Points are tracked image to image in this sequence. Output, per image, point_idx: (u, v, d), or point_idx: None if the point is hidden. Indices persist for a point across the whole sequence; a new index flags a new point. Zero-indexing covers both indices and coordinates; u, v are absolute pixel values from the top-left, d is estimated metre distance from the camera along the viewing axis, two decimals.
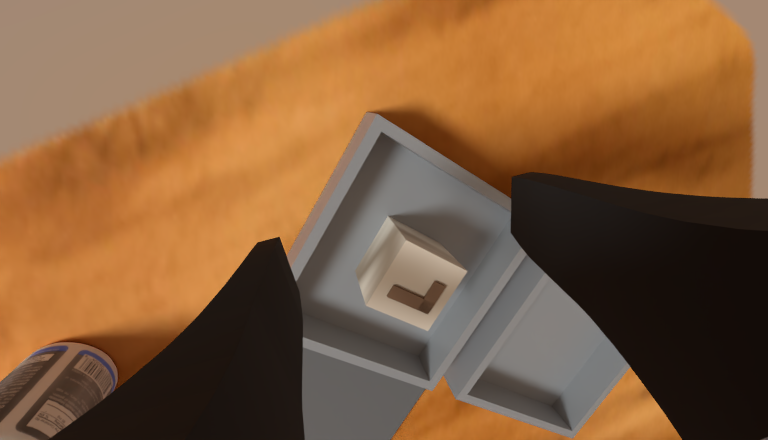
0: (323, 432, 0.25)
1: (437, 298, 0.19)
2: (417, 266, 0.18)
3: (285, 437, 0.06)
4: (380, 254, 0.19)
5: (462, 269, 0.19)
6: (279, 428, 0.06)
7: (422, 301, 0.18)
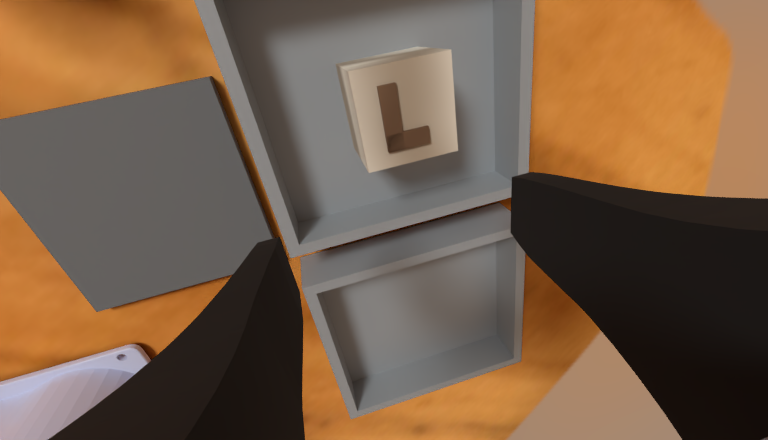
0: (109, 211, 0.17)
1: (411, 146, 0.15)
2: (431, 91, 0.14)
3: (285, 437, 0.06)
4: (394, 56, 0.15)
5: (456, 143, 0.15)
6: (279, 428, 0.06)
7: (399, 133, 0.14)
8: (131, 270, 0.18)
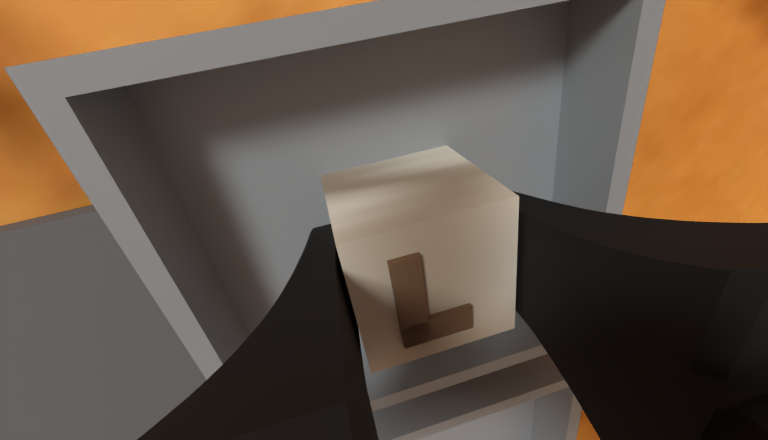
0: None
1: (442, 334, 0.09)
2: (480, 257, 0.08)
3: (368, 410, 0.06)
4: (415, 183, 0.09)
5: (513, 319, 0.09)
6: (365, 400, 0.06)
7: (423, 322, 0.08)
8: None
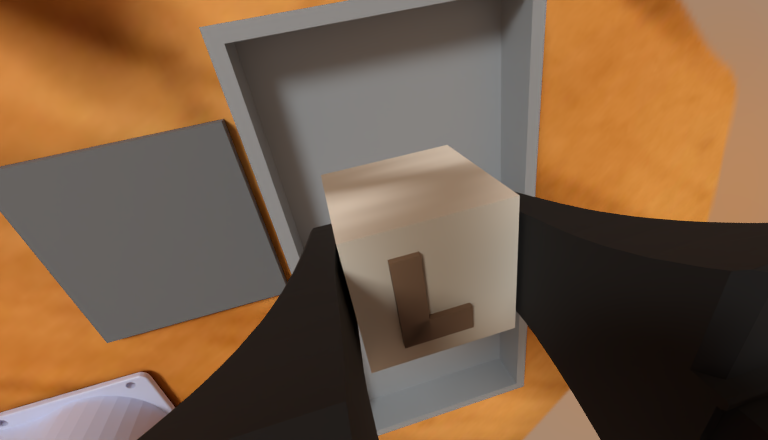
0: (122, 248, 0.17)
1: (443, 334, 0.09)
2: (480, 256, 0.08)
3: (368, 410, 0.06)
4: (416, 183, 0.09)
5: (513, 319, 0.09)
6: (365, 400, 0.06)
7: (423, 321, 0.08)
8: (141, 303, 0.19)
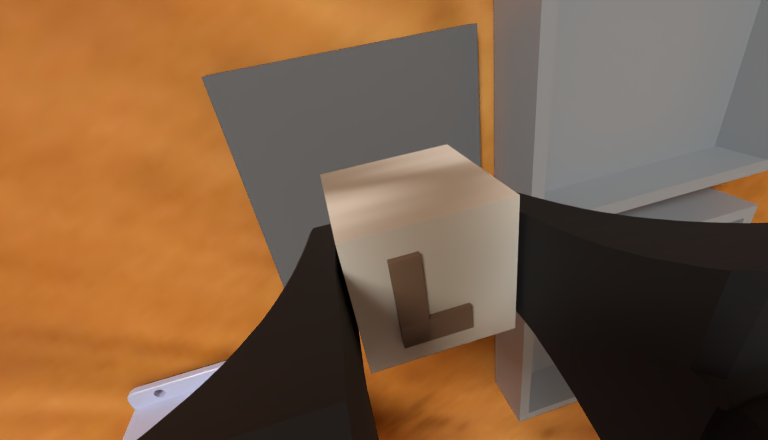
0: None
1: (443, 334, 0.09)
2: (480, 256, 0.08)
3: (368, 410, 0.06)
4: (415, 182, 0.09)
5: (513, 319, 0.09)
6: (365, 400, 0.06)
7: (423, 321, 0.08)
8: None
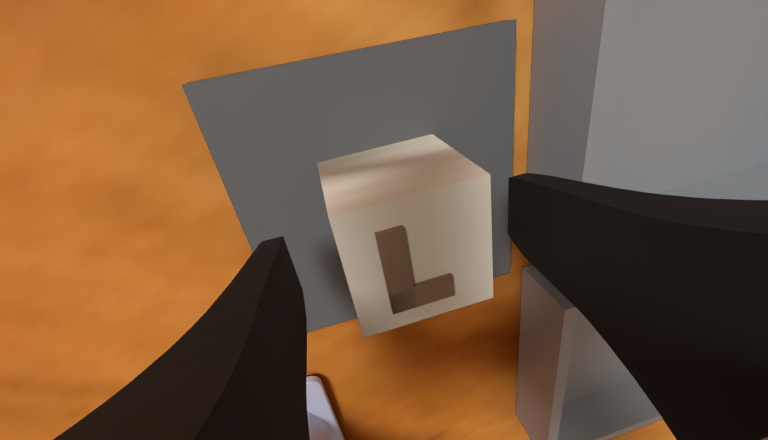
0: None
1: (427, 301, 0.10)
2: (458, 230, 0.09)
3: (291, 435, 0.06)
4: (401, 167, 0.10)
5: (491, 289, 0.10)
6: (285, 426, 0.06)
7: (408, 289, 0.09)
8: (343, 284, 0.14)
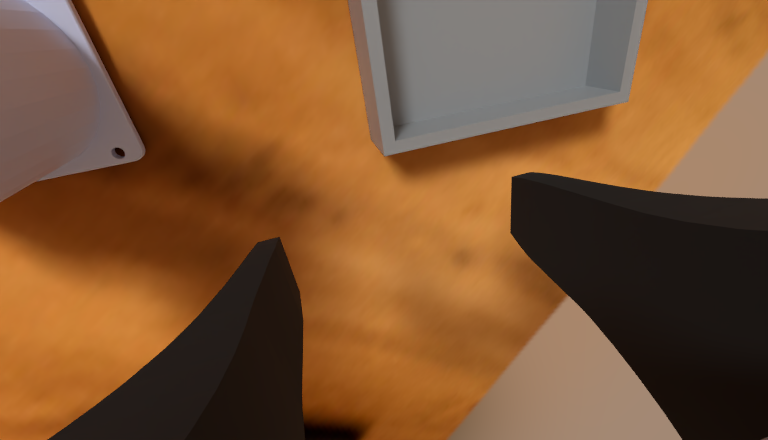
0: None
1: None
2: None
3: (285, 437, 0.06)
4: None
5: None
6: (279, 428, 0.06)
7: None
8: None
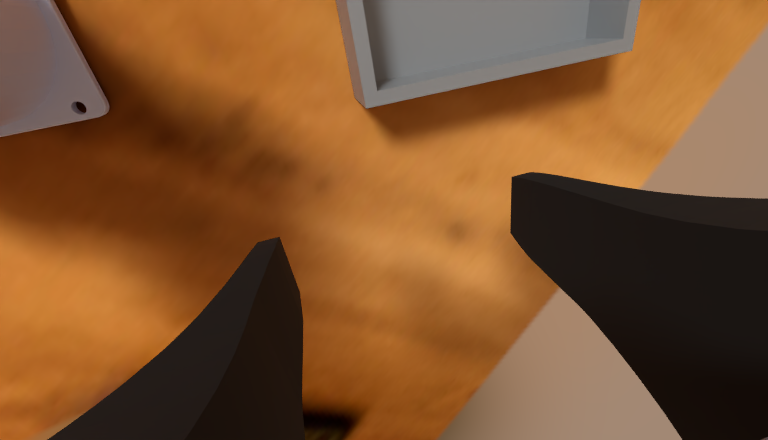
0: None
1: None
2: None
3: (285, 437, 0.06)
4: None
5: None
6: (279, 428, 0.06)
7: None
8: None
